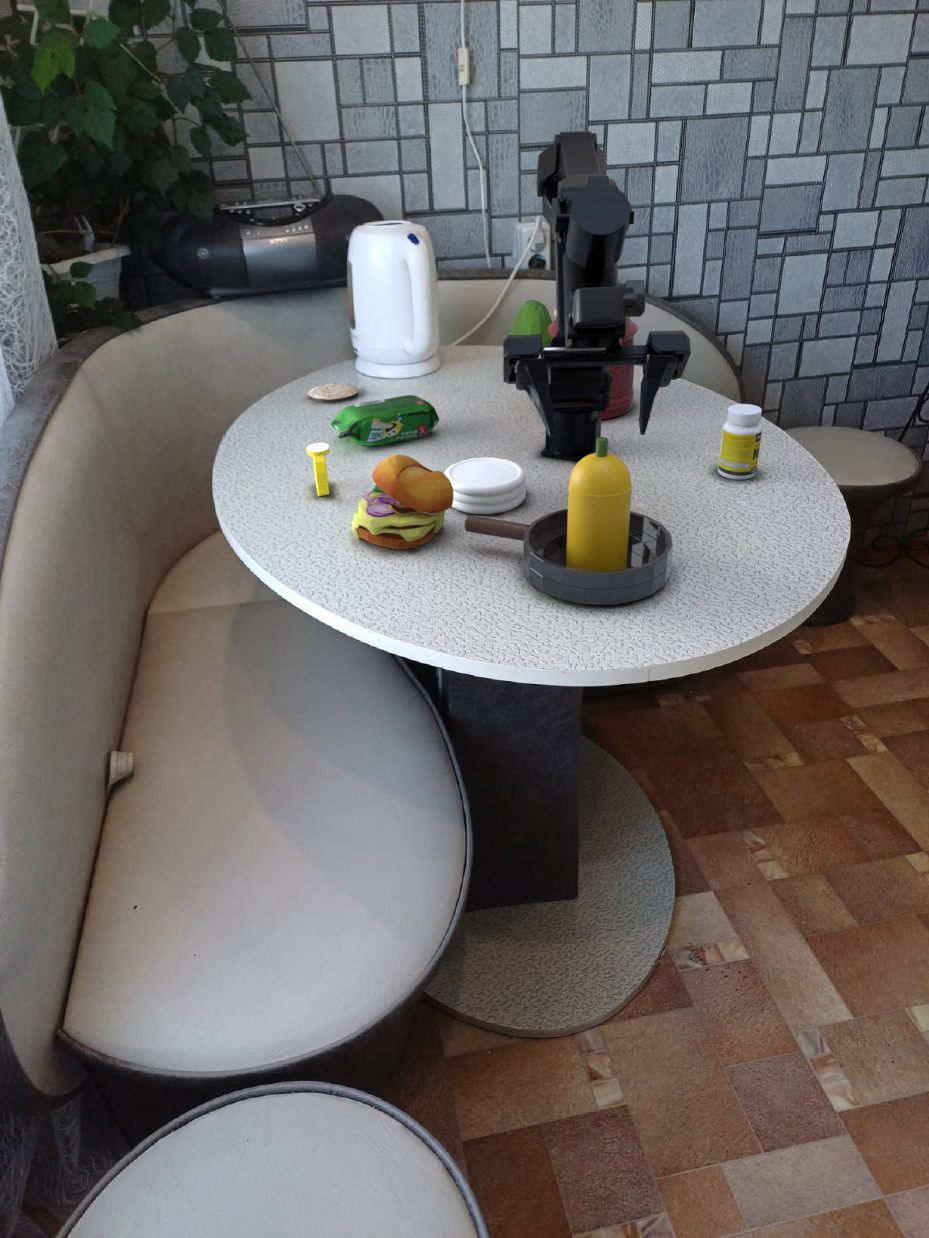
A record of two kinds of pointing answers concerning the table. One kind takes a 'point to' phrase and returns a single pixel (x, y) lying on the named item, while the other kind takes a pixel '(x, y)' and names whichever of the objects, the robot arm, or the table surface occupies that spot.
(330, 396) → the flatbread
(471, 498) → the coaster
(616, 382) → the kitchen canister
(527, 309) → the avocado
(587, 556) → the pepper
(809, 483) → the table surface
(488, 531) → the handle
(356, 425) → the snack package
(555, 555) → the dark grey frying pan
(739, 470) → the supplement bottle
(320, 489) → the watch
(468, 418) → the table surface
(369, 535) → the cheeseburger
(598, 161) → the robot arm
